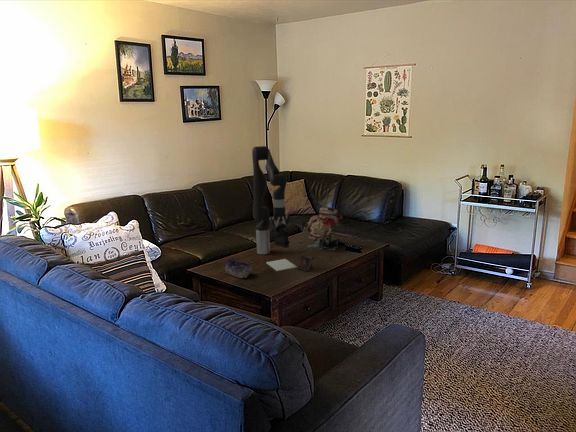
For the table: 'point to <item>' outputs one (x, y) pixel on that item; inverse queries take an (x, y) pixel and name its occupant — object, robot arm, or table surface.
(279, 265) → the sage mat
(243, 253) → the table surface
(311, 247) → the rose bouquet
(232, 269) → the geode
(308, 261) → the portable electronic device stand
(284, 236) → the black red yellow block
